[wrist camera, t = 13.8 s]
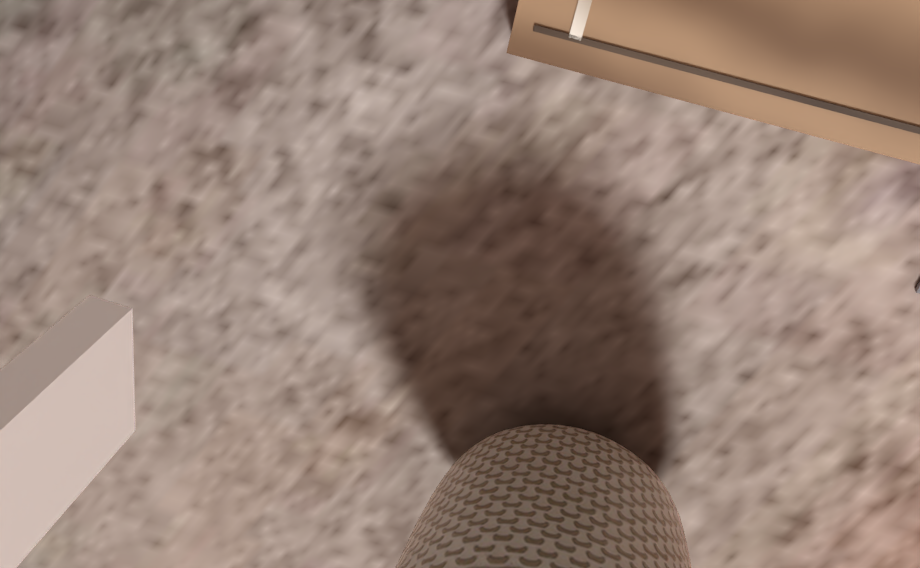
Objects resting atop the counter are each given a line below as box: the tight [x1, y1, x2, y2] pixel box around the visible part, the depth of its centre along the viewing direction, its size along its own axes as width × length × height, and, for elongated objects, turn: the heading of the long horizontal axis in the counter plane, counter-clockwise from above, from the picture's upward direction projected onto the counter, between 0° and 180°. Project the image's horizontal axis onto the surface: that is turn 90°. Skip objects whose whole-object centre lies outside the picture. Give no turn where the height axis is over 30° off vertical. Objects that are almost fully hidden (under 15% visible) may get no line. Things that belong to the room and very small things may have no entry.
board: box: [507, 0, 920, 164], centre depth 37 cm, size 9×30×2 cm, turn 78°
